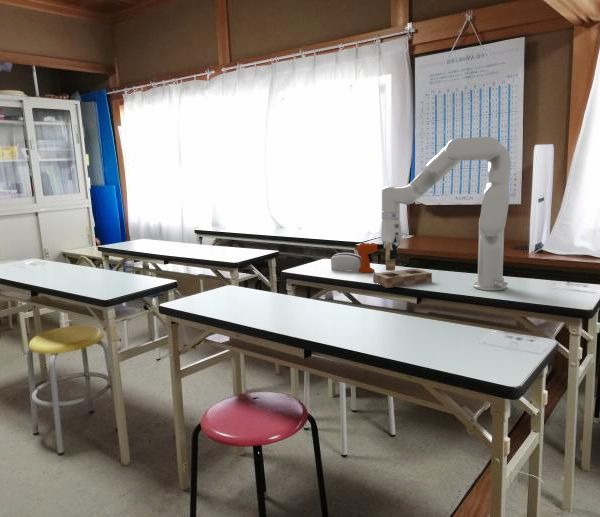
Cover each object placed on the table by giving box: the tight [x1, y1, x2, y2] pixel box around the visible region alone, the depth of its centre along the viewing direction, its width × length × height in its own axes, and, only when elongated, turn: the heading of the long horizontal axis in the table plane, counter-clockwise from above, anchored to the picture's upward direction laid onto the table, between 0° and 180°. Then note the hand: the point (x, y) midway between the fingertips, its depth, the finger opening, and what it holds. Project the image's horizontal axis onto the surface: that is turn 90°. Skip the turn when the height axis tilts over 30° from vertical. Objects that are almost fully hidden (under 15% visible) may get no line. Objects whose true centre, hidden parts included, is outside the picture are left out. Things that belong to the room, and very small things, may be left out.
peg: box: [385, 241, 396, 272], centre depth 224 cm, size 4×4×14 cm
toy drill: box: [356, 242, 385, 274], centre depth 249 cm, size 5×19×15 cm, turn 77°
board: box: [372, 268, 433, 289], centre depth 228 cm, size 12×22×4 cm, turn 110°
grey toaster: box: [330, 252, 362, 272], centre depth 258 cm, size 17×5×10 cm, turn 63°
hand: (390, 257), depth 224 cm, fingers closed on peg, 4 cm apart
